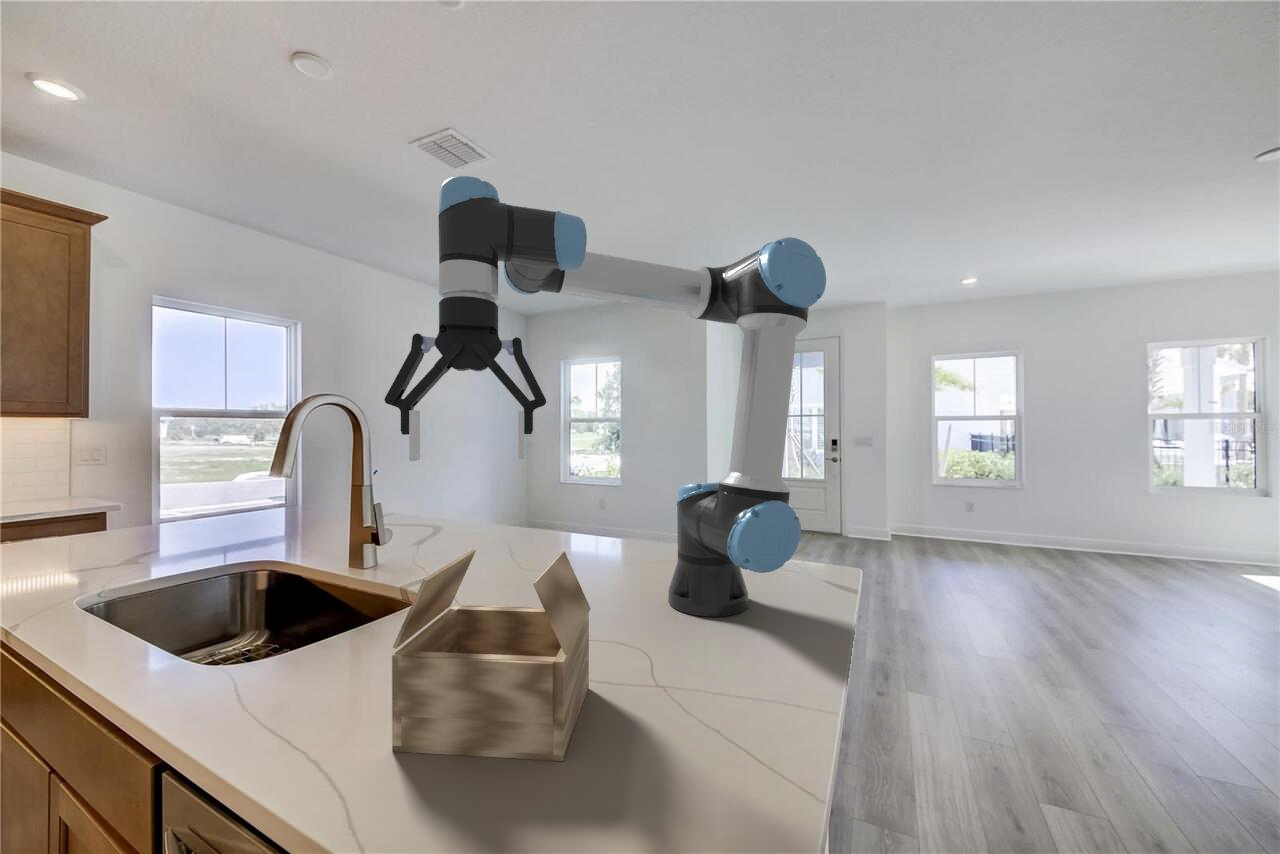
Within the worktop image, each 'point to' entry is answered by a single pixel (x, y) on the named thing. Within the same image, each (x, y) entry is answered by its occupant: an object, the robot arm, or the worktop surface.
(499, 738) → the carton
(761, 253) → the robot arm
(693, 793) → the worktop surface
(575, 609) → the flap
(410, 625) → the flap
